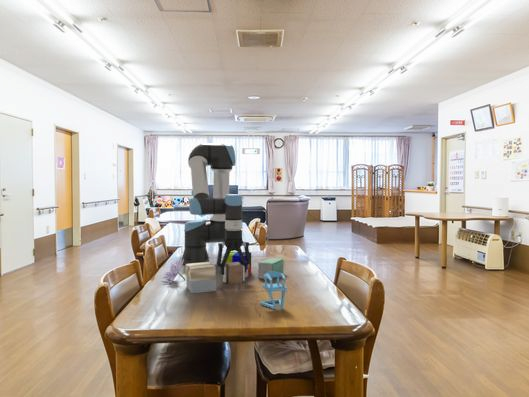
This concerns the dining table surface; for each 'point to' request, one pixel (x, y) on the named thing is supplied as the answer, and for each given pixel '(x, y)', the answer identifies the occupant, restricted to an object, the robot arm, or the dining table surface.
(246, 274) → the puzzle toy
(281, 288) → the chair
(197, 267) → the tower slab upper
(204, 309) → the dining table surface
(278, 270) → the box
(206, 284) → the tower slab lower
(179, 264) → the water lily
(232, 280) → the walnut block
